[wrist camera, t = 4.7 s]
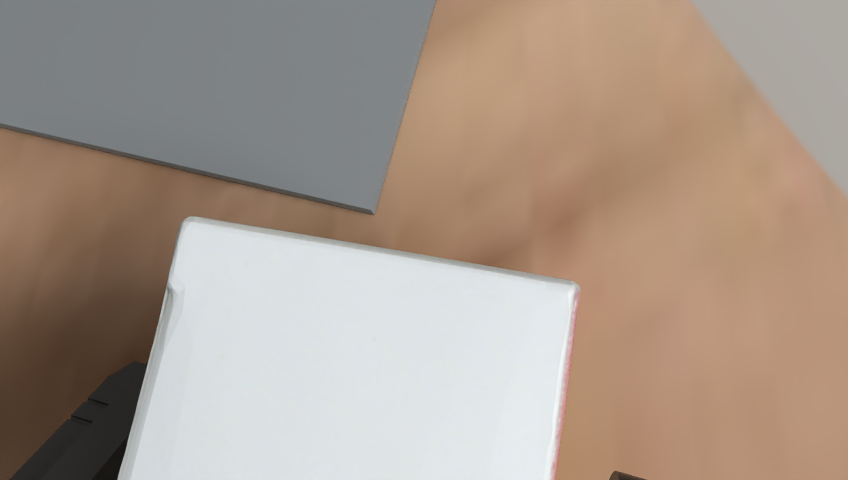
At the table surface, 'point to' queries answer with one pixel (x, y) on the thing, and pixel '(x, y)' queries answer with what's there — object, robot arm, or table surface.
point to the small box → (349, 364)
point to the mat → (221, 85)
